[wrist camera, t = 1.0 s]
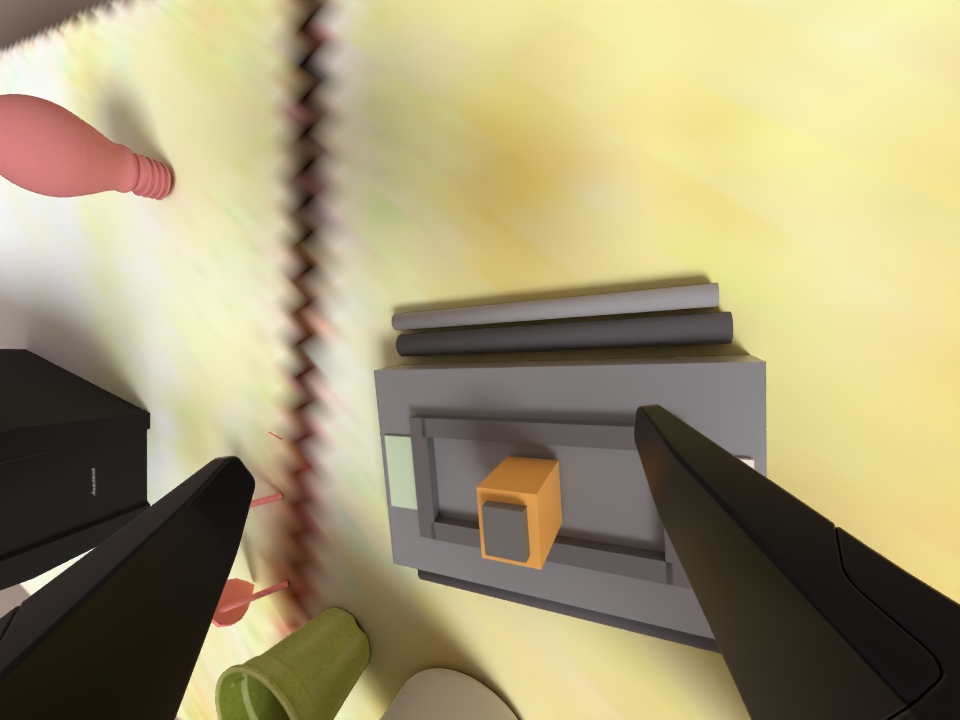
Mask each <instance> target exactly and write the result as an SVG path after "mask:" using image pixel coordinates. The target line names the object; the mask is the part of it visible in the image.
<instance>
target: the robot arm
mask: <svg viewBox="0 0 960 720" xmlns="http://www.w3.org/2000/svg"><path fill="white" fill-rule="evenodd" d="M634 440H635V444H636V447H637V450H638V453H639V457H640V460H641V463H642V466H643V469H644V472H645V475H646V478H647V481H648V485H649V488H650V491H651V494H652V497H653V500H654V503H655V506H656V509H657V511H658V514H659V516H660V518H661V521H662V523H663V525H664V527H665V530H666V532H667V534H668V536H669V538H670V541H671V543H672V545H673V547H674V549H675V552H676V554H677V556H678V558H679V560H680V563H681V565H682V567H683V569H684V572H685V574H686V576H687V578H688V580H689V583H690V585H691V587H692V589H693V591H694V594H695V596H696V598H697V600H698V602H699V605H700V607H701V609H702V611H703V613H704V616H705V618H706V620H707V622H708V624H709V627H710V629H711V631H712V633H713V636H714V638H715V640H716V642H717V644H718V647H719V649H720V651H721V653H722V655H723V658H724V660H725V662H726V664H727V666H728V669H729V671H730V673H731V675H732V677H733V680H734V682H735V684H736V686H737V689H738V691H739V693H740V695H741V697H742V700H743V702H744V704H745V706H746V708H747V711H748V713H749V715H750V717H751V719H752V720H960V604H958V603H957V602H955V601H953V600H952V599H950V598H949V597H947V596H945V595H944V594H942V593H940V592H939V591H937V590H936V589H934V588H932V587H931V586H929V585H927V584H926V583H924V582H923V581H921V580H919V579H918V578H916V577H914V576H913V575H911V574H910V573H908V572H907V571H905V570H903V569H902V568H900V567H899V566H897V565H896V564H894V563H893V562H891V561H890V560H888V559H887V558H885V557H884V556H882V555H881V554H879V553H878V552H876V551H875V550H873V549H871V548H870V547H868V546H867V545H865V544H864V543H862V542H861V541H860V540H858V539H857V538H855V537H854V536H852V535H851V534H849V533H848V532H846V531H845V530H843V529H842V528H840V527H836V528H835V525H834V523H833V522H831V521H830V520H828V519H827V518H825V517H824V516H822V515H821V514H820V513H818V512H817V511H815V510H814V509H812V508H811V507H809V506H808V505H806V504H805V503H803V502H802V501H800V500H799V499H797V498H796V497H795V496H793V495H792V494H790V493H789V492H787V491H786V490H784V489H783V488H781V487H780V486H778V485H777V484H775V483H774V482H772V481H771V480H770V479H768V478H767V477H765V476H764V475H762V474H761V473H759V472H758V471H756V470H755V469H753V468H752V467H750V466H749V465H747V464H746V463H745V462H743V461H742V460H740V459H739V458H737V457H736V456H734V455H733V454H731V453H730V452H728V451H727V450H725V449H724V448H722V447H721V446H720V445H718V444H717V443H715V442H714V441H712V440H711V439H709V438H708V437H706V436H705V435H703V434H702V433H700V432H699V431H697V430H696V429H695V428H693V427H692V426H690V425H689V424H687V423H686V422H684V421H683V420H681V419H680V418H678V417H677V416H675V415H674V414H672V413H671V412H670V411H668V410H667V409H665V408H664V407H662V406H661V405H658V404H651V405H642V406H639V407H638V408H637V411H636V419H635V428H634ZM254 489H255V480H254V477H253V476H252V474H251V473H250V472H249V471H248V469H247V468H246V467H245V465H244V464H243V463H242V461H241V460H240V459H239V458H238V457H236V456H225V457H218V458H215V459H214V460H212V461H211V462H209V463H208V464H207V465H205V466H204V467H203V468H201V469H200V470H199V471H197V472H196V473H195V474H193V475H192V476H191V477H189V478H188V479H187V480H185V481H184V482H183V483H181V484H180V485H179V486H177V487H176V488H175V489H173V490H172V491H171V492H169V493H168V494H167V495H165V496H164V497H163V498H161V499H160V500H159V501H157V502H156V503H155V504H153V505H152V506H151V507H149V508H148V509H146V510H145V511H144V512H142V513H141V514H140V515H138V516H137V517H136V518H134V519H133V520H132V521H130V522H129V523H128V524H126V525H125V526H124V527H122V528H121V529H120V530H118V531H117V532H116V533H114V534H113V535H112V536H110V537H109V538H108V539H106V540H105V541H104V542H102V543H101V544H100V545H98V546H97V547H96V548H94V549H93V550H92V551H90V552H89V553H88V554H86V555H85V556H84V557H82V558H81V559H80V560H78V561H77V562H76V563H74V564H73V565H72V566H70V567H69V568H68V569H66V570H65V571H64V572H62V573H61V574H59V575H58V576H57V577H55V578H54V579H53V580H51V581H50V582H49V583H47V584H46V585H45V586H43V587H42V588H41V589H39V590H38V591H37V592H35V593H34V594H33V595H31V596H30V597H29V598H27V599H26V600H25V601H23V602H22V604H21V605H20V606H17V607H15V608H14V609H13V610H11V611H10V612H9V613H7V614H6V615H5V616H3V617H2V618H0V720H175V718H176V715H177V712H178V710H179V707H180V704H181V702H182V699H183V696H184V694H185V691H186V688H187V686H188V683H189V680H190V678H191V675H192V672H193V670H194V667H195V664H196V662H197V659H198V656H199V654H200V651H201V648H202V646H203V643H204V640H205V638H206V635H207V632H208V630H209V627H210V624H211V622H212V619H213V616H214V614H215V611H216V608H217V606H218V603H219V600H220V598H221V595H222V592H223V590H224V587H225V584H226V582H227V579H228V576H229V574H230V571H231V568H232V566H233V563H234V560H235V557H236V554H237V551H238V548H239V544H240V541H241V537H242V534H243V530H244V526H245V523H246V519H247V515H248V511H249V508H250V504H251V500H252V497H253V493H254Z"/></svg>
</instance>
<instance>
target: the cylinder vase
mask: <svg viewBox="0 0 960 720" xmlns="http://www.w3.org/2000/svg"><path fill="white" fill-rule="evenodd" d="M380 720H518V719H517V718H516V716H515V715H514V714H513V712H512V711H511V710H510V709H509V707H508V706H507V705H506V704H505V703H504V702H503V701H502V700H501V699H500V698H499V697H498V696H497V695H496V694H495V693H494V692H492V691H491V690H490V689H489V688H487V687H486V686H485V685H483V684H482V683H480V682H479V681H477V680H475V679H474V678H472V677H470V676H468V675H465V674H463V673H460V672H458V671H454V670H450V669H444V668H433V669H427V670H423V671H421V672H418V673H417V674H415V675H413V676H412V677H411V678H409V679H408V680H407V681H406V682H405V684H404V685H403V686H402V688H401V689H400V691H399V692H398V694H397V695H396V697H395V698H394V700H393V701H392V703H391V704H390V706H389V707H388V709H387V710H386V712H385V713H384V714H383V716H382V717H381V719H380Z"/></svg>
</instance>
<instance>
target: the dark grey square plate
mask: <svg viewBox="0 0 960 720" xmlns="http://www.w3.org/2000/svg"><path fill="white" fill-rule="evenodd" d="M718 304H719V286H718V283H710V284H699V285H689V286H679V287H668V288H658V289H648V290H637V291H627V292H617V293H606V294H596V295H586V296H576V297H565V298H555V299H545V300H534V301H524V302H514V303H503V304H493V305H483V306H472V307H462V308H452V309H441V310H431V311H421V312H410V313H400V314H394V315H393V317H392V326H393V328H394V329H395V330H410V329H423V328H437V327H450V326H463V325H477V324H490V323H503V322H517V321H530V320H544V319H557V318H570V317H584V316H597V315H611V314H624V313H637V312H651V311H664V310H677V309H691V308H704V307H718ZM732 338H733V320H732V314H731V312H717V313H702V314H688V315H674V316H659V317H645V318H630V319H616V320H601V321H587V322H572V323H558V324H543V325H529V326H515V327H500V328H486V329H471V330H457V331H442V332H428V333H413V334H401V335H399V337H398V338H397V342H396V348H397V351H398V353H399V354H400V355H401V356H427V355H452V354H477V353H502V352H527V351H552V350H577V349H602V348H627V347H652V346H677V345H703V344H728V343H731V342H732ZM418 576H419V578H420V579H422V580H427V581H431V582H435V583H439V584H443V585H447V586H451V587H455V588H459V589H463V590H467V591H471V592H475V593H479V594H483V595H487V596H491V597H495V598H499V599H503V600H507V601H511V602H515V603H519V604H523V605H527V606H531V607H535V608H539V609H543V610H547V611H552V612H556V613H560V614H564V615H568V616H572V617H576V618H580V619H584V620H588V621H592V622H596V623H600V624H604V625H608V626H612V627H616V628H620V629H624V630H628V631H632V632H636V633H640V634H644V635H648V636H652V637H656V638H660V639H664V640H668V641H672V642H677V643H681V644H685V645H689V646H693V647H697V648H701V649H705V650H709V651H713V652H717V653H721V651H720V649H719V647H718V644H717V642H716V640H715V639H712V638H707V637H703V636H699V635H695V634H691V633H686V632H682V631H678V630H674V629H669V628H665V627H661V626H657V625H652V624H648V623H644V622H640V621H635V620H631V619H627V618H623V617H619V616H614V615H610V614H606V613H602V612H597V611H593V610H589V609H585V608H580V607H576V606H572V605H568V604H563V603H559V602H555V601H551V600H547V599H542V598H538V597H534V596H530V595H525V594H521V593H517V592H513V591H508V590H504V589H500V588H496V587H491V586H487V585H483V584H479V583H474V582H470V581H466V580H462V579H458V578H453V577H449V576H445V575H441V574H436V573H432V572H428V571H424V570H419V569H418ZM721 654H722V653H721Z"/></svg>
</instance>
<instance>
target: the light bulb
mask: <svg viewBox="0 0 960 720" xmlns="http://www.w3.org/2000/svg"><path fill="white" fill-rule="evenodd" d="M0 175H1V176H3V177H4V178H6V179H7V180H9V181H10V182H12V183H14V184H16V185H17V186H19V187H21V188H24V189H26V190H29V191H32V192H35V193H38V194H42V195H46V196H52V197H75V196H83V195H90V194H95V193H99V192H104V191H109V190H116V191H118V192H121V193H126V192H130V191H132V192H133V193H134V194H135V195H138V196H143V197H150V198H152V199H154V198H155V199H157V200H161V199H164V198H165V197H166V196H167V194H168V192H169V190H170V186H171V175H170V172H169V169H168V168H167V166H166V165H164V164H162V163H159V162H156V161H155V160H152V159H150V158H147V157H144V156H141V155H137V154H135V153H132V151H131V150H130V149H129V148H127V147H126V146H123V145H119V144H115V143H113V142H112V141H110V140H109V139H107V138H106V137H105V136H104V135H102V134H101V133H100V132H98V131H97V130H96V129H95V128H93V127H92V126H91V125H89V124H88V123H86V122H85V121H83V120H82V119H80V118H79V117H77V116H76V115H75V114H73V113H72V112H70V111H68V110H67V109H65V108H63V107H61V106H59V105H57V104H55V103H53V102H50V101H48V100H45V99H42V98H38V97H34V96H29V95H21V94H7V95H0Z"/></svg>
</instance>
